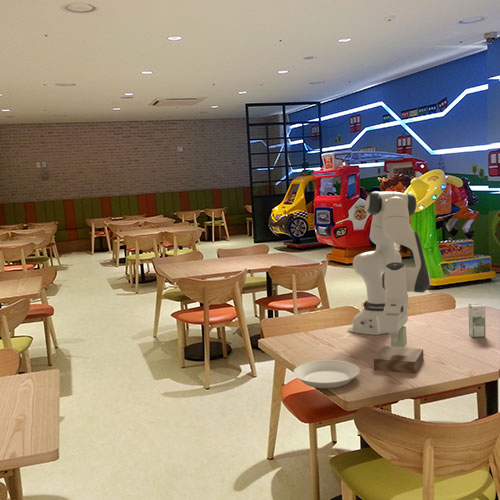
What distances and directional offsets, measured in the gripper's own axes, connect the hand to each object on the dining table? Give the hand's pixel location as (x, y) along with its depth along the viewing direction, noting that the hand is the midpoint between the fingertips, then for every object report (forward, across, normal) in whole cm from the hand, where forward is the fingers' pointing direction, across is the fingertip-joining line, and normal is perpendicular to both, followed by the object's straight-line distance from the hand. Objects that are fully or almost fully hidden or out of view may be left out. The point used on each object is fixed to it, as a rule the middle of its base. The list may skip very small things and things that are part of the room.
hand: (398, 338), depth 227 cm
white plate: (+11, +23, -22) cm, 34 cm away
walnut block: (+11, 0, 0) cm, 11 cm away
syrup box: (+11, -47, +24) cm, 54 cm away
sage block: (+3, 0, 0) cm, 3 cm away
